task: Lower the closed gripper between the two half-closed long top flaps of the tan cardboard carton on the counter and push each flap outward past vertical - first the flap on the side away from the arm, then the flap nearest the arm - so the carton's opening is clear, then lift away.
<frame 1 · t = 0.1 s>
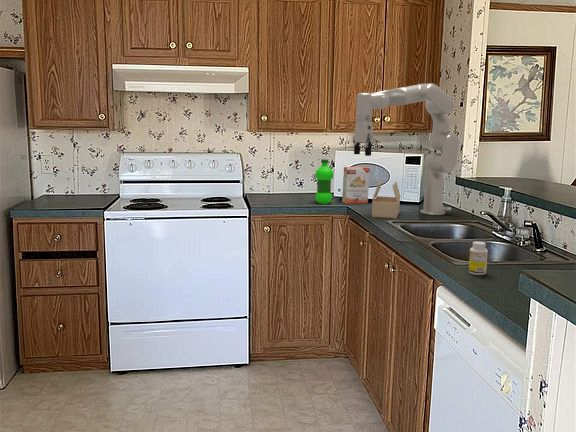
hand: (362, 154, 284), 31 cm above the worktop, tool pointing down, fingers open, 9 cm apart
cracker box: (355, 203, 338), on the worktop
supplement bottle: (477, 273, 191), on the worktop
carton: (385, 214, 301), on the worktop
plastic bottle: (323, 203, 335), on the worktop
flap near: (396, 191, 297), point 12 cm above the worktop, hinge at 72.0°
flap far: (377, 190, 300), point 12 cm above the worktop, hinge at 72.0°
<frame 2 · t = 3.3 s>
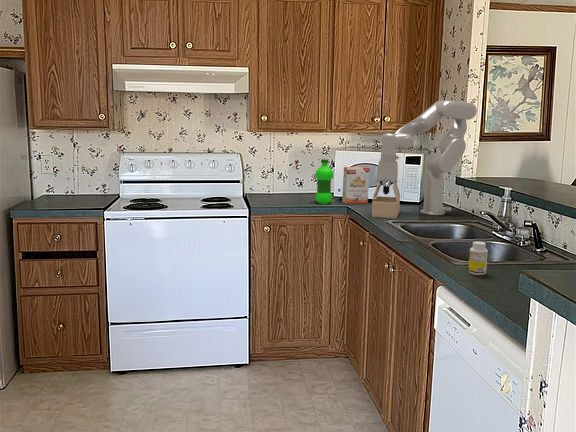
hand: (385, 194, 299), 11 cm above the worktop, tool pointing down, fingers closed
flap far: (377, 190, 300), point 13 cm above the worktop, hinge at 72.9°, touching gripper
everything else where it was.
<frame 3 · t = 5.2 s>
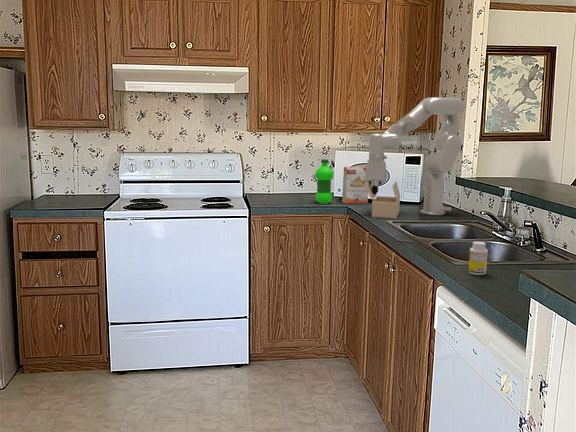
hand: (374, 193, 300), 11 cm above the worktop, tool pointing down, fingers closed
flap far: (371, 190, 300), point 12 cm above the worktop, hinge at 116.5°, touching gripper
everything else where it was.
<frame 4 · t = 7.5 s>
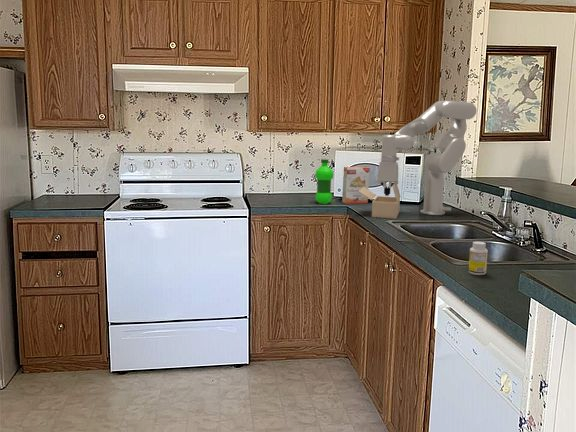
hand: (387, 195, 299), 10 cm above the worktop, tool pointing down, fingers closed
flap near: (396, 191, 297), point 12 cm above the worktop, hinge at 72.0°, touching gripper
flap far: (367, 193, 301), point 11 cm above the worktop, hinge at 150.7°
everything else where it was.
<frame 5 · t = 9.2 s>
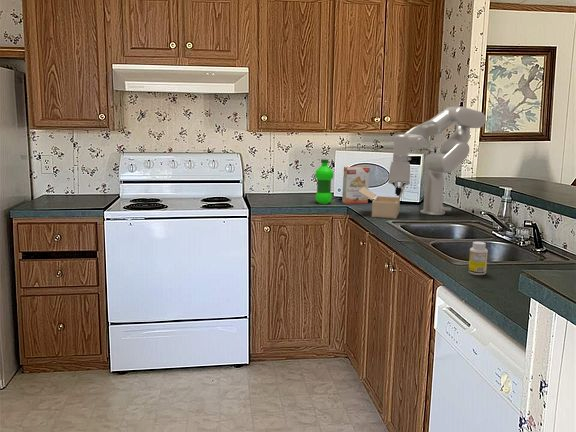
hand: (398, 195, 297), 10 cm above the worktop, tool pointing down, fingers closed
flap near: (402, 191, 296), point 12 cm above the worktop, hinge at 109.9°, touching gripper
everything else where it was.
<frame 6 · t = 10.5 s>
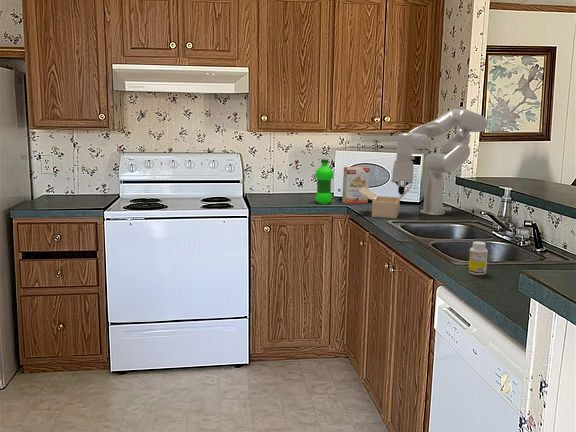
hand: (401, 194, 296), 11 cm above the worktop, tool pointing down, fingers closed
flap near: (404, 193, 296), point 12 cm above the worktop, hinge at 129.8°, touching gripper
everything else where it was.
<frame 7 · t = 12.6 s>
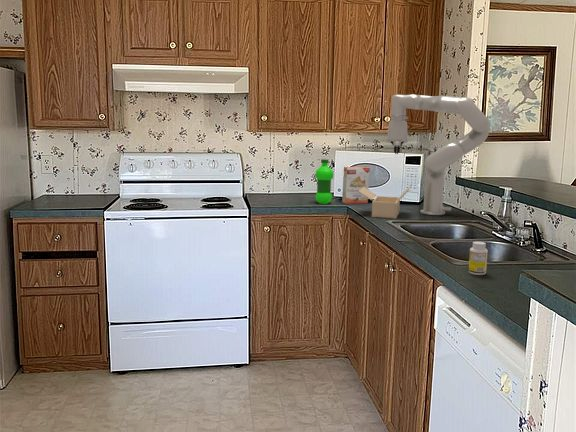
hand: (396, 153, 309), 30 cm above the worktop, tool pointing down, fingers closed
flap near: (404, 193, 296), point 12 cm above the worktop, hinge at 130.1°
everything else where it was.
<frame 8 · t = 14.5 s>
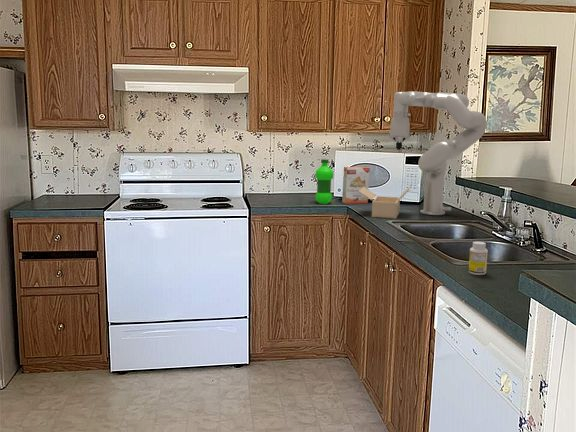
hand: (398, 149, 317), 32 cm above the worktop, tool pointing down, fingers closed
nothing on the worktop moved.
at the end: flap far at +151° (first picture: +72°); flap near at +130° (first picture: +72°) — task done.
